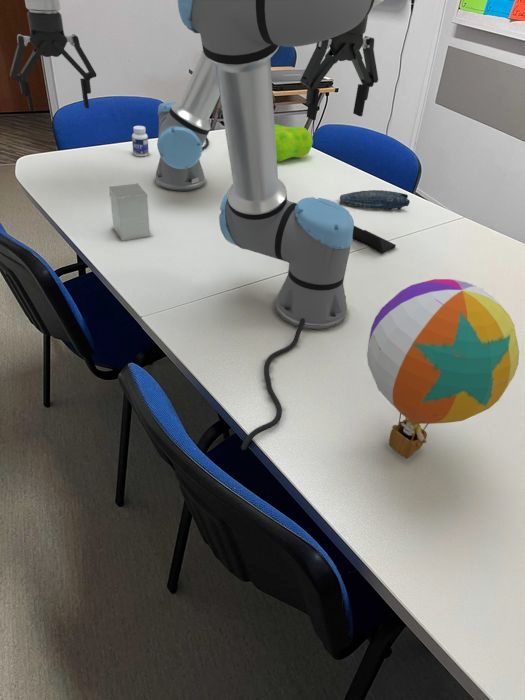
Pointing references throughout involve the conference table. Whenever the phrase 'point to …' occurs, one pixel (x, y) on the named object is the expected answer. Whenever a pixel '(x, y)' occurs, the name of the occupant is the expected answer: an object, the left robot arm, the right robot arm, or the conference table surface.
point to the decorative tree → (292, 142)
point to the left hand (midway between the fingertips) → (59, 108)
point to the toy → (440, 356)
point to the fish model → (376, 199)
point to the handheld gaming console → (372, 240)
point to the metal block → (129, 211)
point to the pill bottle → (140, 141)
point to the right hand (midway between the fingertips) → (334, 116)
